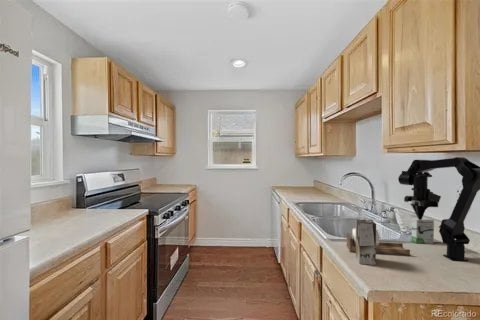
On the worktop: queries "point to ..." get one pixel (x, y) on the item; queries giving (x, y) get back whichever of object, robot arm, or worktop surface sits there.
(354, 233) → the kitchen roll
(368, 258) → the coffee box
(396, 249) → the brown tray
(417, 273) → the worktop surface
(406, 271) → the worktop surface
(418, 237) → the ink box
